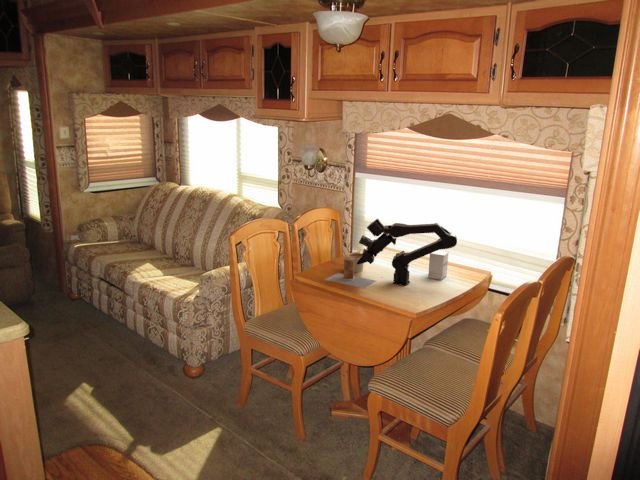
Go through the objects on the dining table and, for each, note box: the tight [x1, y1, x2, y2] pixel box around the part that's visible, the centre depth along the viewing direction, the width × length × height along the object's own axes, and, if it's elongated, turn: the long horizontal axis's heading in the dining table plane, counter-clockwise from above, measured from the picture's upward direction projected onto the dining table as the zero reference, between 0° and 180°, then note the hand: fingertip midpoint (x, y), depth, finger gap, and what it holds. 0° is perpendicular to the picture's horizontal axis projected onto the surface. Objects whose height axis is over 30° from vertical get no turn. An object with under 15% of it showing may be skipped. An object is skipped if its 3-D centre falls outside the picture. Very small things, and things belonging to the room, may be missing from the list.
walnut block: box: [343, 256, 355, 280], centre depth 253 cm, size 4×4×10 cm
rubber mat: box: [324, 272, 377, 289], centre depth 251 cm, size 22×13×1 cm, turn 57°
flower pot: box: [347, 252, 365, 274], centre depth 265 cm, size 9×9×9 cm
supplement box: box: [427, 250, 449, 281], centre depth 257 cm, size 7×7×13 cm
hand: (357, 263), depth 251 cm, fingers closed
